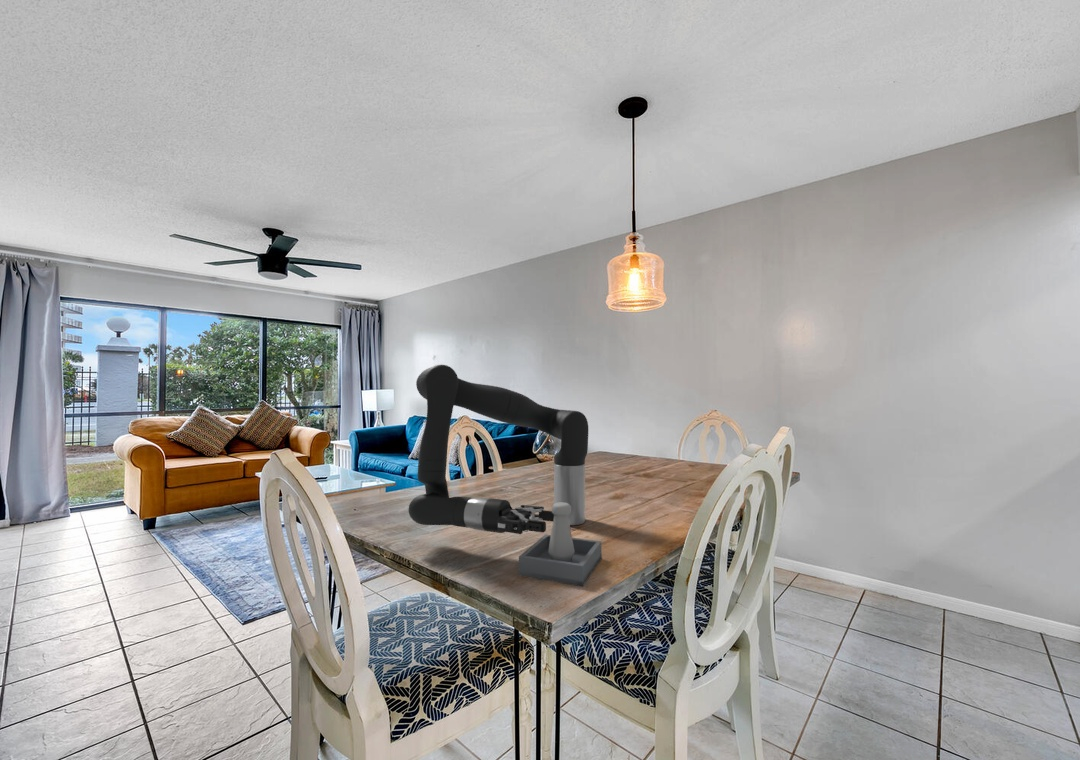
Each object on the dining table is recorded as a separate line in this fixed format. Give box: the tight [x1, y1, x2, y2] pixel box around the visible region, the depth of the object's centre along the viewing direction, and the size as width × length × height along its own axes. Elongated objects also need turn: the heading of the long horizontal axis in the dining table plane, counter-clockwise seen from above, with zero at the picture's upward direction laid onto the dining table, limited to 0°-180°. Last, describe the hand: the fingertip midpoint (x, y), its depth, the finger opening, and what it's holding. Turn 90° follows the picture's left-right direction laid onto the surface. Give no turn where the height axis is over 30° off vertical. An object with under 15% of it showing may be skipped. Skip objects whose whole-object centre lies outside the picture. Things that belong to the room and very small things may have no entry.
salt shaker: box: [548, 502, 575, 562], centre depth 100 cm, size 6×6×13 cm
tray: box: [518, 533, 602, 587], centre depth 100 cm, size 16×14×4 cm
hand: (552, 521), depth 101 cm, fingers open, 8 cm apart
